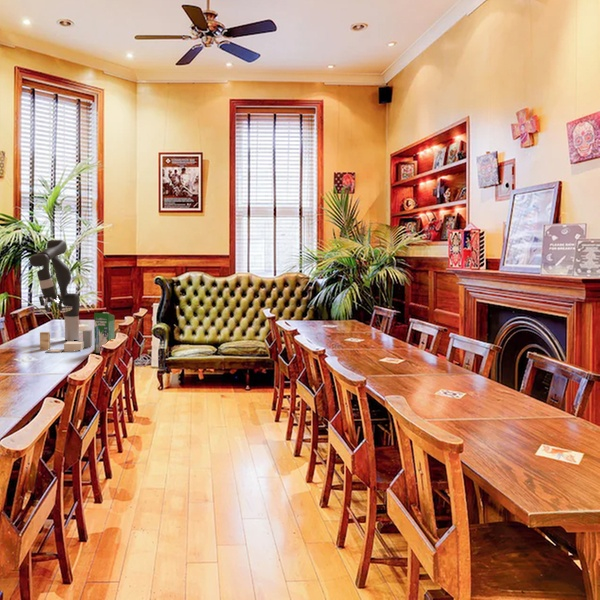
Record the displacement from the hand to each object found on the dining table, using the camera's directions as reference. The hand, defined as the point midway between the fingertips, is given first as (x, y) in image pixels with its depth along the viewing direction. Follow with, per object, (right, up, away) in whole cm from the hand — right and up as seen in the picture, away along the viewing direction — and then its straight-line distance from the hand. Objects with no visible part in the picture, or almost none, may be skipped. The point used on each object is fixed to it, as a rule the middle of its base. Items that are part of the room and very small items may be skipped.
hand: (54, 310), depth 342 cm
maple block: (-9, -25, +6) cm, 27 cm away
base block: (+10, -25, +7) cm, 28 cm away
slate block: (+13, -24, +19) cm, 33 cm away
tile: (+1, -25, -1) cm, 25 cm away
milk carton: (+31, -26, +2) cm, 40 cm away
